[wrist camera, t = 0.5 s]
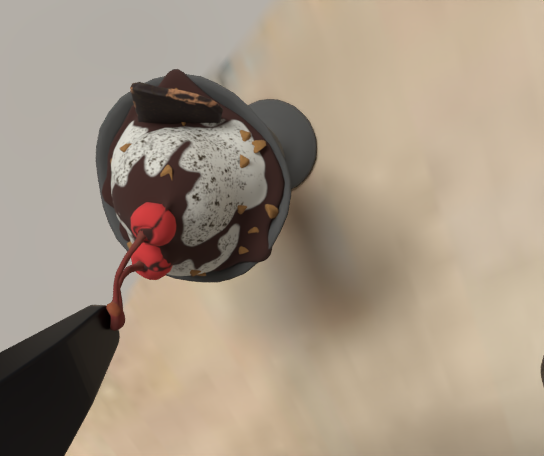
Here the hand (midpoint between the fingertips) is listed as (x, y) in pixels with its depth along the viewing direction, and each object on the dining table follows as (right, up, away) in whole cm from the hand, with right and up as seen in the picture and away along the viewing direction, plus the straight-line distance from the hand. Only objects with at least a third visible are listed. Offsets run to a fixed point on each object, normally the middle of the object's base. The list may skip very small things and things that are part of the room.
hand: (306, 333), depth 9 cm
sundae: (-1, +6, +14) cm, 15 cm away
